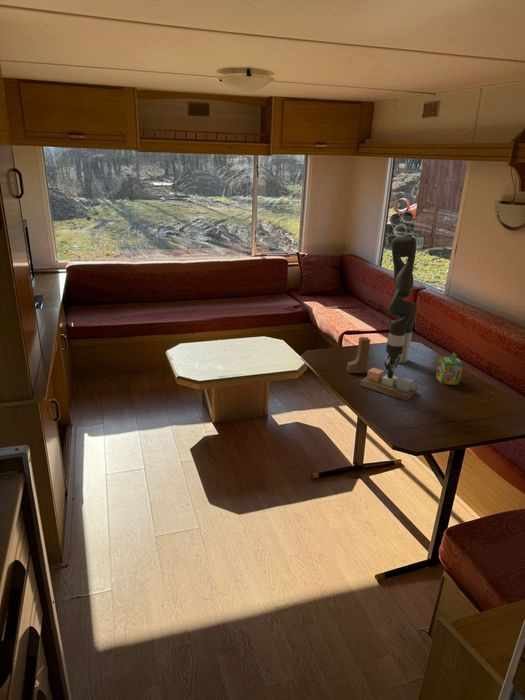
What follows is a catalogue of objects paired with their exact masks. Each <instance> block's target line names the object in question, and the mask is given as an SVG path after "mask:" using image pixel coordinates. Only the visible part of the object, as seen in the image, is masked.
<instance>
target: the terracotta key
mask: <svg viewBox="0 0 525 700" xmlns="http://www.w3.org/2000/svg"><path fill="white" fill-rule="evenodd" d="M383 376H384V369H379V368H376V367H372V368H370V369H368V371H367V376H366V377H367V379H368V380H371V381H374V382H377V383H378V382H380V381H381V380H382V377H383Z"/></svg>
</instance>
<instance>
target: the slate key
mask: <svg viewBox="0 0 525 700" xmlns="http://www.w3.org/2000/svg"><path fill="white" fill-rule="evenodd" d="M412 386H414V379H412V378H409V377H405V376H401V377H399V378H398V380H397V386H396V389H399V390H402V391H405V392H409V391H411V390H412Z"/></svg>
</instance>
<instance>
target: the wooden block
mask: <svg viewBox="0 0 525 700" xmlns="http://www.w3.org/2000/svg"><path fill="white" fill-rule="evenodd" d="M357 344H358V345H357V353H356V357H355V358H354V360H352V361H347V366H346V371H347V372H348V374H366V373H367V367H368V366H367V365H368V359H369V353H370V344H371V339H370V338H369V337H367V336H366V337H364V336H363V337H362V336H361V337H360V336H359V339H358V343H357Z"/></svg>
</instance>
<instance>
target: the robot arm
mask: <svg viewBox="0 0 525 700" xmlns="http://www.w3.org/2000/svg"><path fill="white" fill-rule="evenodd" d="M391 240H392V241H391V255H392V262H393V285H394V287H393V289H394V290H393V295H392V299H391V301H390V303H389V305H388V312H389V315H391V316H395V317H398V318H399V319H393V320H391V321H390V324H389V331H388V332H389V333H388V335H387V342H386V347H385V352H386V353H387V354H388V355H387V361H384V366H385V367H384V368H385V369H386V371H387V374H388V375H387V374H386V375H387V377H388V378H392V377H393V376H394V373H395V370H396V368H398V364H406V363H408V360H409V359H408V358H409V353H410V346H411V342H412V335H413V330H414V324H415V320H416V315H417V310H418V304H417V303H416V302H415V301H414V302H413V301H411V300H410V301H409V300H404V299H406V298H409V297H410V295H411V290H412V289H413V287H414V273H413V270H414V266H415V260H416V255H417V253H416V252H417V240H416V237H415V236H397V237H394V238H393V239H391ZM402 258H407V260H406V262H404V261H403V259H402Z"/></svg>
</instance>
